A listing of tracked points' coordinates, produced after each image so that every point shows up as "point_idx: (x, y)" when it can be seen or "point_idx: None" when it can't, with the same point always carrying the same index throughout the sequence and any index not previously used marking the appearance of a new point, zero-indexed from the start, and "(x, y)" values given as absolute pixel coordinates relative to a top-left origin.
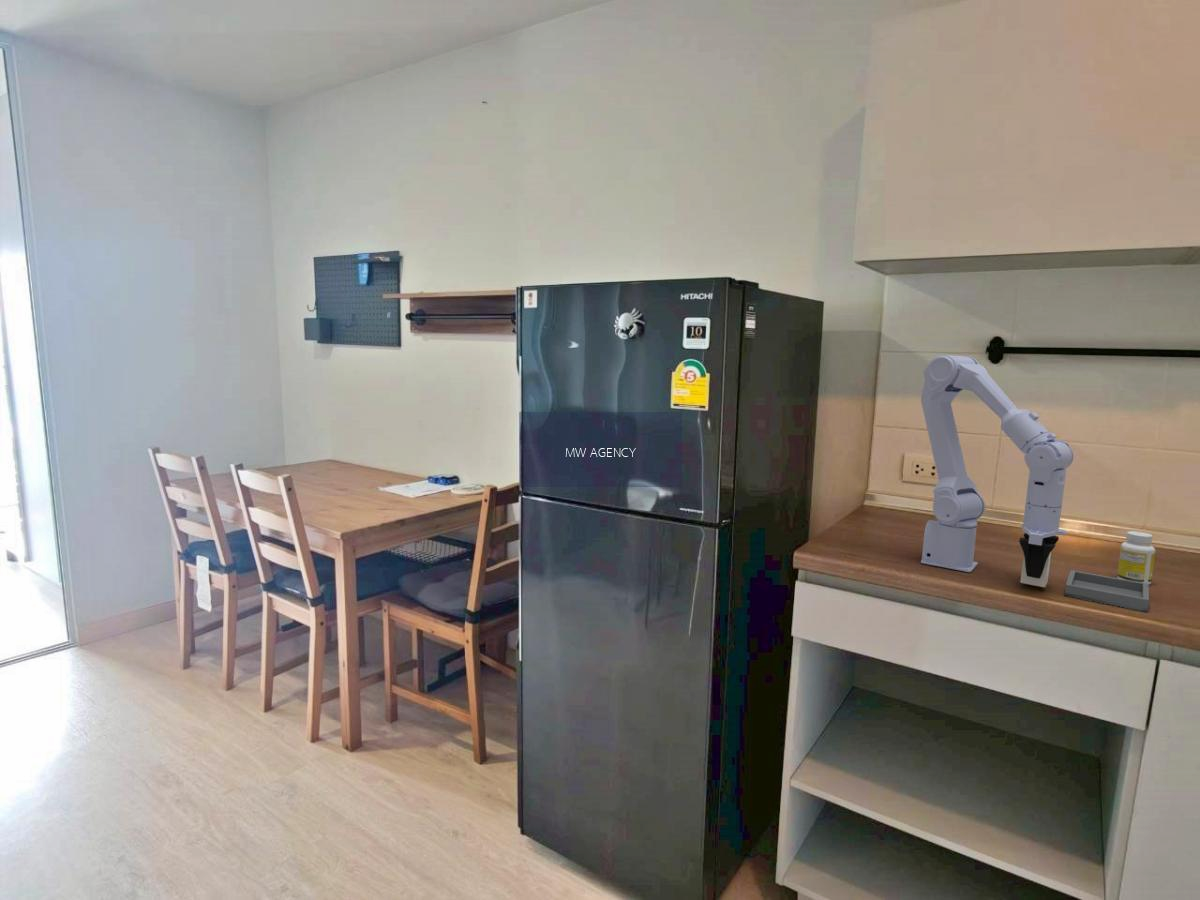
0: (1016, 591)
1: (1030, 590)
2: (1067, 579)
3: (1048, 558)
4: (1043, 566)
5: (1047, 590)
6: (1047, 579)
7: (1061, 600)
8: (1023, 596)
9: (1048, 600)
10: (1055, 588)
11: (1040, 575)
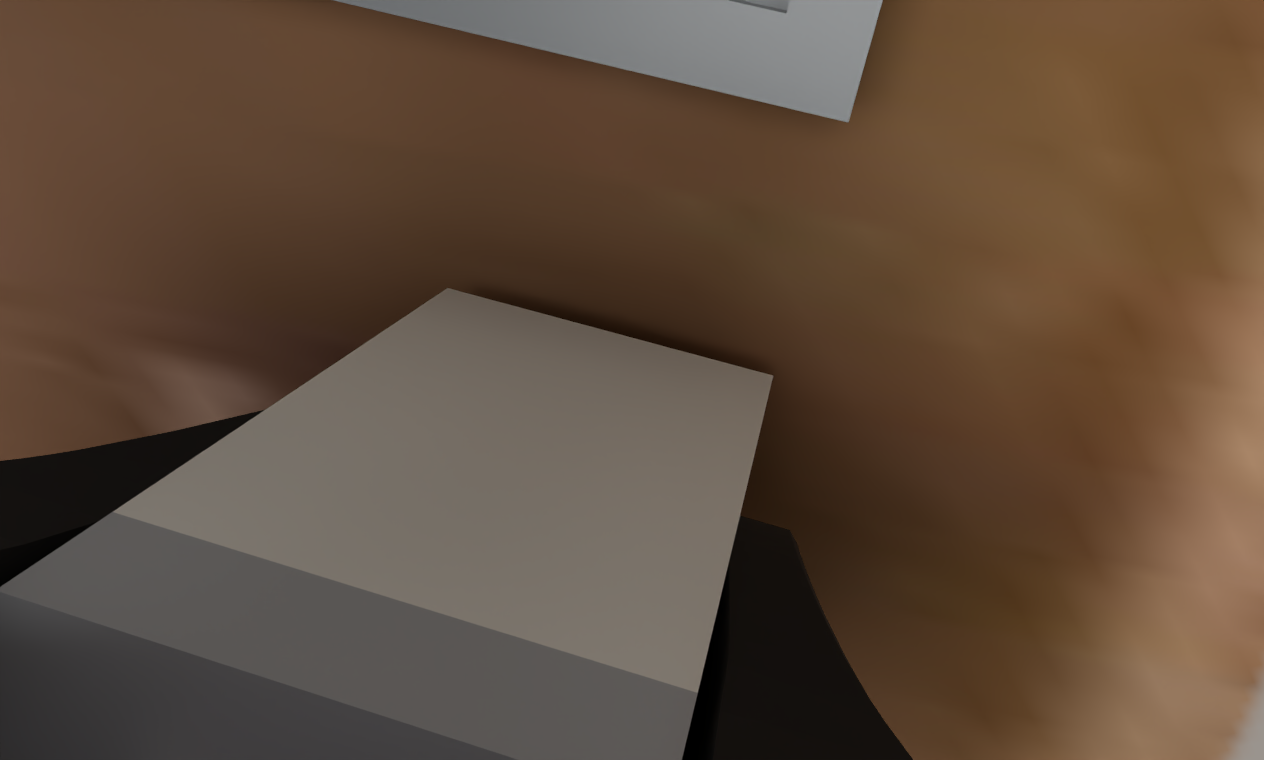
0: (933, 695)
1: (781, 516)
2: (447, 26)
3: (699, 659)
4: (839, 650)
5: (649, 292)
6: (496, 325)
7: (1130, 185)
8: (1154, 663)
9: (1221, 378)
10: (469, 159)
11: (800, 556)
